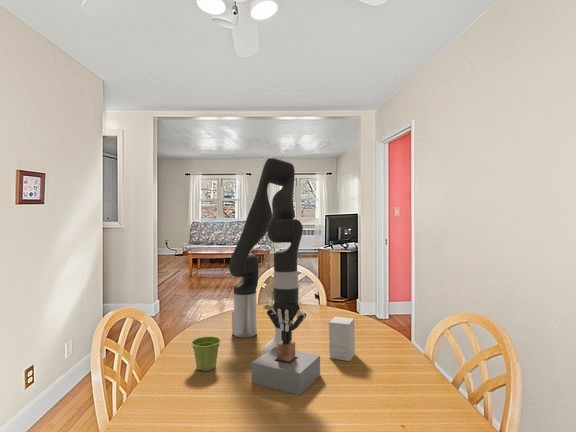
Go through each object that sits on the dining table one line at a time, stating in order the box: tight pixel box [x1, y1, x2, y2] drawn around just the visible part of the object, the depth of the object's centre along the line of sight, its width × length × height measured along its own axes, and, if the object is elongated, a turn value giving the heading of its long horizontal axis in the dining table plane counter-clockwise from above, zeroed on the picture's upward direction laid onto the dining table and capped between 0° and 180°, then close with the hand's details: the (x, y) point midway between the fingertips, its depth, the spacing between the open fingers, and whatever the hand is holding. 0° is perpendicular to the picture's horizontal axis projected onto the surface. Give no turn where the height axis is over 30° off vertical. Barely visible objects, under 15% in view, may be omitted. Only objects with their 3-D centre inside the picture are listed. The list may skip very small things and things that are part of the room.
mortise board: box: [250, 347, 321, 396], centre depth 110 cm, size 16×14×6 cm
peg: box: [277, 340, 296, 364], centre depth 110 cm, size 4×4×10 cm
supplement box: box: [328, 316, 356, 362], centre depth 127 cm, size 7×7×13 cm
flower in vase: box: [262, 282, 282, 355], centre depth 129 cm, size 13×11×25 cm
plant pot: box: [190, 335, 222, 372], centre depth 119 cm, size 9×9×9 cm
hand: (286, 342), depth 110 cm, fingers closed
